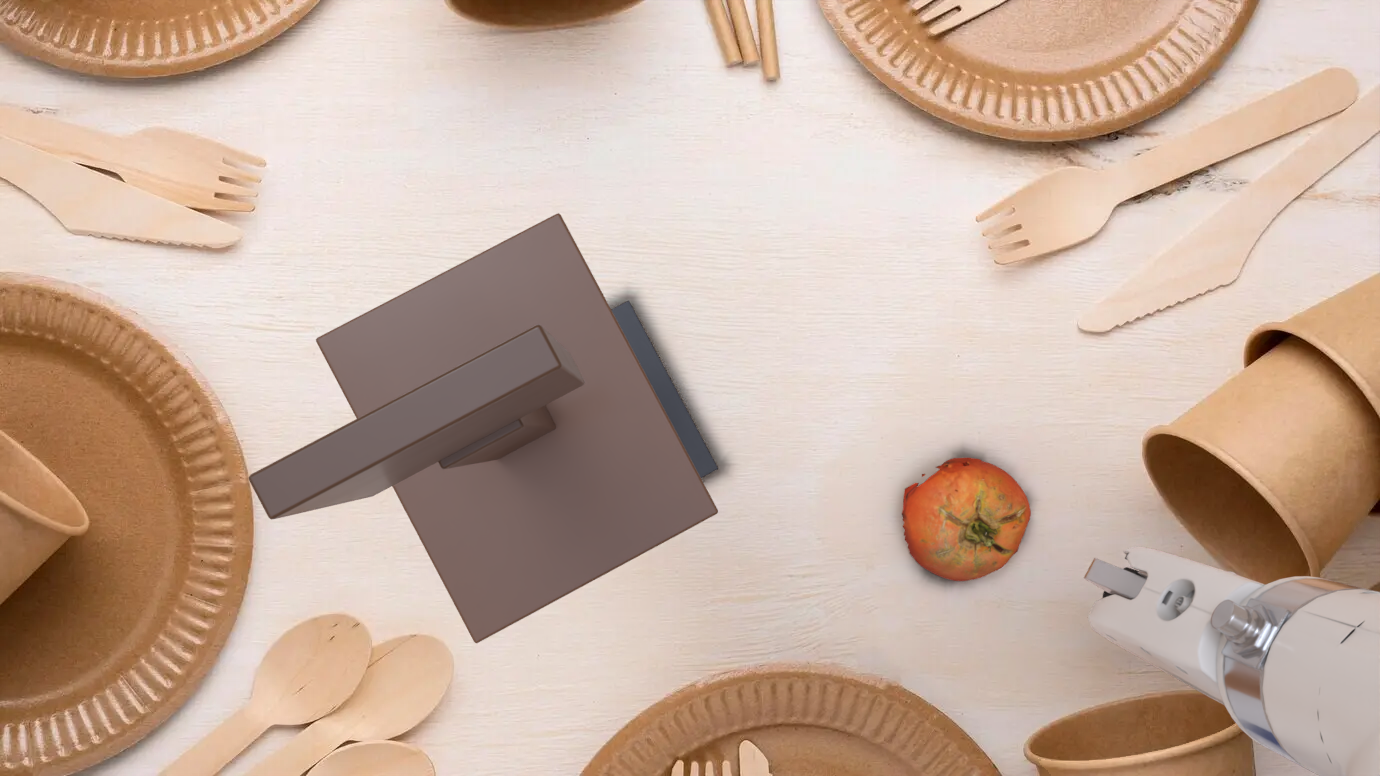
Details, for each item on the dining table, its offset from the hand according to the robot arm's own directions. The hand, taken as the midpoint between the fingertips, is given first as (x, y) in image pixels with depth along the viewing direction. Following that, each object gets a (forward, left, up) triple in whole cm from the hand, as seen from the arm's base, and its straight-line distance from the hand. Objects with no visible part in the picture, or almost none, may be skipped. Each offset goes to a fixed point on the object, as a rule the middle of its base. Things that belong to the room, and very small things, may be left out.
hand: (1122, 597), depth 61 cm
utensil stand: (+23, +23, -6) cm, 33 cm away
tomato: (+7, +5, -7) cm, 11 cm away
